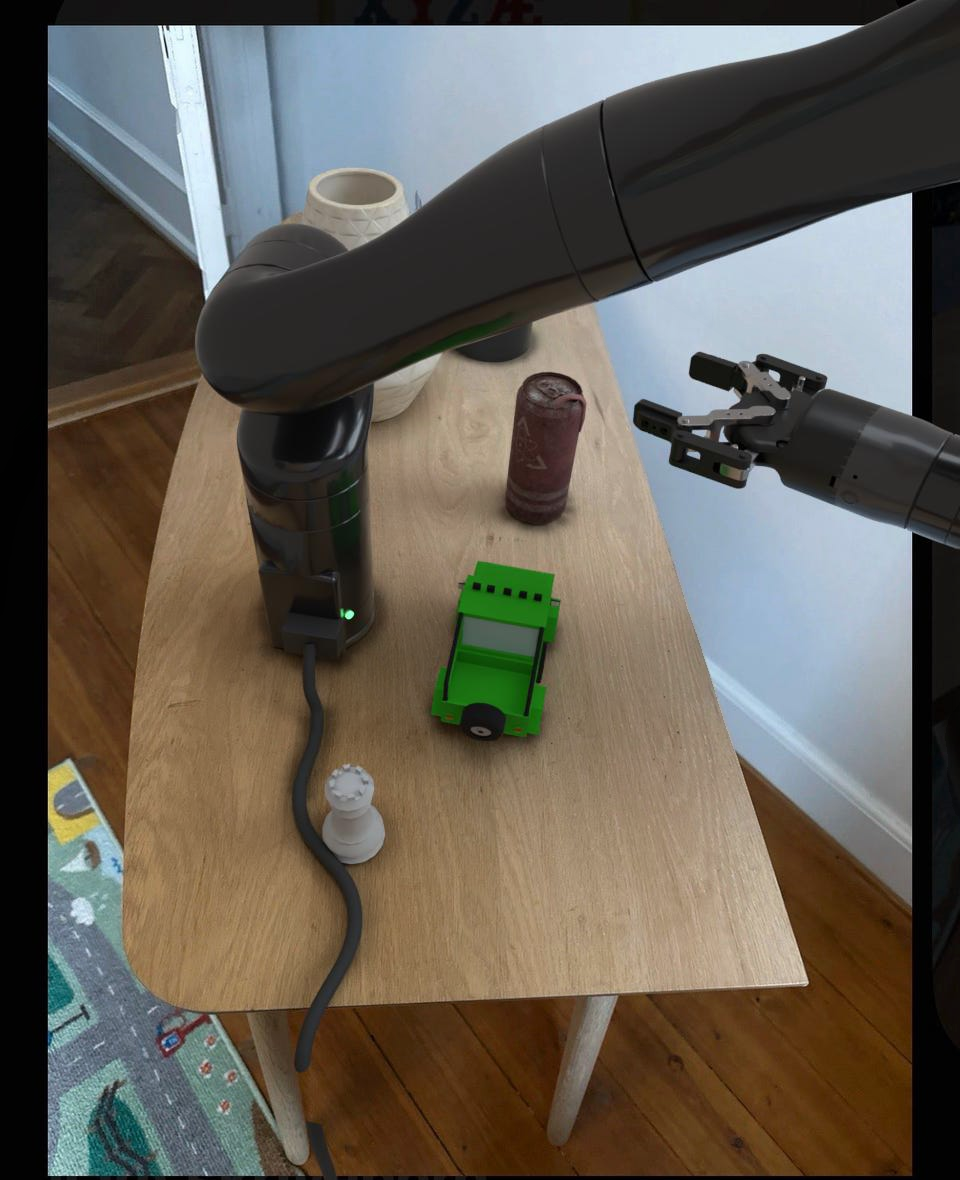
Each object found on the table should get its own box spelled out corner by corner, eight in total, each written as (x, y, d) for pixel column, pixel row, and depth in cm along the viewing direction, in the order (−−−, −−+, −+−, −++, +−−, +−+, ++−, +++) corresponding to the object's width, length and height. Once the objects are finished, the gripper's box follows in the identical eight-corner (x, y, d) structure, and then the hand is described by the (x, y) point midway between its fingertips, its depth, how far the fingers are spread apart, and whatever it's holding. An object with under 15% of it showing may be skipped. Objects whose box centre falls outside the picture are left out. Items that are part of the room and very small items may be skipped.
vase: (413, 457, 92) (414, 246, 75) (258, 421, 94) (226, 208, 77) (460, 368, 103) (471, 167, 86) (322, 338, 106) (306, 136, 88)
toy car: (558, 611, 79) (574, 531, 71) (530, 777, 67) (546, 702, 60) (465, 594, 79) (472, 513, 72) (422, 756, 68) (425, 679, 60)
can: (563, 532, 86) (585, 414, 75) (499, 520, 86) (512, 401, 76) (571, 492, 90) (593, 375, 79) (510, 481, 90) (524, 363, 80)
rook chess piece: (386, 809, 65) (384, 751, 59) (384, 867, 62) (381, 812, 56) (325, 809, 64) (317, 751, 58) (319, 867, 61) (310, 812, 55)
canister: (525, 367, 104) (533, 297, 98) (442, 355, 105) (444, 285, 98) (534, 323, 111) (542, 255, 104) (456, 312, 111) (459, 244, 105)
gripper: (917, 368, 63) (714, 307, 71) (836, 465, 56) (619, 385, 63) (887, 453, 69) (702, 388, 76) (809, 552, 61) (612, 469, 69)
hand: (664, 387), depth 70 cm, fingers open, 8 cm apart
